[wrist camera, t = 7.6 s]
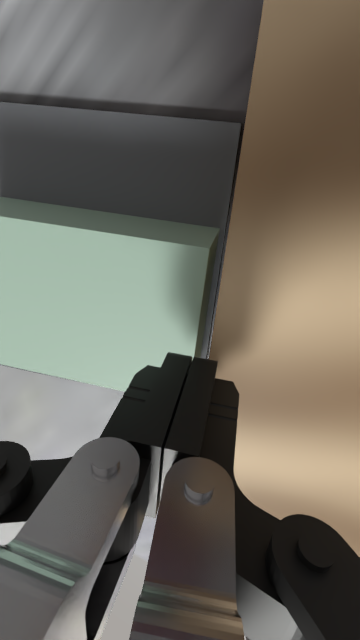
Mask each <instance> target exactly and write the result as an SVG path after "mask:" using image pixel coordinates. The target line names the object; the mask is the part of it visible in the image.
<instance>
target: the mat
mask: <svg viewBox="0 0 360 640" xmlns="http://www.w3.org/2000/svg"><path fill="white" fill-rule="evenodd" d="M240 131H241V123H234V122H223V121H212V120H200V119H189V118H178V117H166V116H155V115H144V114H132V113H121V112H110V111H99V110H87V109H76V108H65V107H53V106H42V105H31V104H19V103H8V102H0V197H6V198H13V199H20V200H27V201H34V202H40V203H47V204H54V205H61V206H68V207H75V208H82V209H89V210H96V211H103V212H110V213H116V214H123V215H130V216H137V217H144V218H151V219H158V220H165V221H172V222H179V223H186V224H192V225H199V226H206V227H213V228H220V231H219V237H218V244H217V250H216V257H215V264H214V270H213V277H212V283H211V290H210V297H209V303H208V310H207V316H206V323H205V330H204V336H203V343H202V349H201V356H200V358H204V359H206V358H207V352H208V345H209V338H210V332H211V325H212V318H213V312H214V305H215V298H216V291H217V285H218V278H219V271H220V265H221V258H222V251H223V245H224V238H225V231H226V225H227V218H228V211H229V205H230V198H231V191H232V185H233V178H234V171H235V164H236V158H237V151H238V144H239V138H240ZM0 365H2V364H0ZM3 366H6V365H3ZM7 367H11V366H7ZM12 368H15V367H12ZM17 369H20V368H17ZM21 370H24V369H21ZM26 371H29V370H26ZM31 372H33V371H31ZM36 373H38V372H36ZM40 374H42V373H40ZM45 375H47V374H45ZM50 376H52V375H50ZM54 377H56V376H54ZM59 378H61V377H59ZM64 379H65V378H64ZM69 380H70V379H69ZM73 381H74V380H73ZM78 382H79V381H78ZM87 384H88V383H87Z"/></svg>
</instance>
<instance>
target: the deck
mask: <svg viewBox="0 0 360 640" xmlns="http://www.w3.org/2000/svg"><path fill="white" fill-rule="evenodd" d="M209 360H215V361H218V365H217V371H216V377H215V378H218V379H223V380H228V381H233V382H234V384H235V386H236V388H237V390H238V392H239V407H238V419H237V432H236V444H235V457H234V476H235V480H236V483H237V485H238V487H239V488H240V490H241V491H242V493H243V494H244V495H245V496H246V497H247V499H248V500H250V501H251V502H252V503H253V504H254V505H256V506H257V507H259V508H260V509H262V510H264V511H266V512H267V513H269V514H271V515H272V516H274V517H276V518H278V519H279V520H282V519H283V518H285V517H287V516H289V515H294V514H304V515H309V516H312V517H315V518H318V519H320V520H321V521H323V522H325V523H326V524H328V525H330V526H331V527H332V528H333V529H334V530H336V531H337V532H338V533H339V534H340V535H341V536H342V538H343V539H344V540H345V541H346V542H347V543H348V545H349V546H350V547H351V548H352V549H353V550H354V552H355V553H356V554H357V555H358V556H359V557H360V0H264V3H263V9H262V16H261V22H260V29H259V35H258V42H257V48H256V55H255V61H254V68H253V74H252V81H251V88H250V94H249V101H248V107H247V114H246V120H245V127H244V133H243V140H242V146H241V153H240V159H239V166H238V172H237V179H236V185H235V192H234V198H233V205H232V211H231V218H230V224H229V231H228V237H227V244H226V250H225V257H224V263H223V270H222V276H221V283H220V289H219V296H218V302H217V309H216V315H215V322H214V328H213V335H212V341H211V348H210V355H209Z"/></svg>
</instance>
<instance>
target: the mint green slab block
mask: <svg viewBox="0 0 360 640" xmlns="http://www.w3.org/2000/svg"><path fill="white" fill-rule="evenodd" d="M219 231H220V228H213V227H206V226H199V225H192V224H186V223H179V222H172V221H165V220H158V219H151V218H144V217H137V216H130V215H123V214H116V213H110V212H103V211H96V210H89V209H82V208H75V207H68V206H61V205H54V204H47V203H40V202H34V201H27V200H20V199H13V198H6V197H0V364H2V365H6V366H11V367H15V368H20V369H24V370H29V371H33V372H38V373H42V374H47V375H52V376H56V377H61V378H65V379H70V380H74V381H79V382H83V383H88V384H92V385H97V386H101V387H106V388H110V389H115V390H119V391H124V392H125V391H126V390H127V388H128V387H129V384H130V382H131V381H132V379H133V377H134V375H135V374H136V373H137V372H139V371H140V370H141V369H143V368H144V367H146V366H147V365H150V366H155V367H161V366H162V364H163V361H164V359H165V357H166V355H167V353H168V352H172V353H177V354H182V355H188V356H192V361H193V358H194V357H199V358H200V356H201V349H202V343H203V336H204V330H205V323H206V316H207V310H208V303H209V297H210V290H211V283H212V277H213V270H214V264H215V257H216V250H217V244H218V237H219Z"/></svg>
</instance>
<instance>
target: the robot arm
mask: <svg viewBox="0 0 360 640" xmlns="http://www.w3.org/2000/svg"><path fill="white" fill-rule="evenodd" d="M217 365H218V361H215V360H209V359H204V358H199V357H194V358H193V361H192V356H188V355H182V354H177V353H172V352H168V353H167V355H166V357H165V359H164V361H163V364H162V366H161V367H155V366H150V365H147V366H146V367H144V368H143V369H141V370H140V371H139V372H137V373H136V374H135V375H134V377H133V379H132V381H131V382H130V384H129V387H128V388H127V390H126V391H125V393H124V395H123V398H122V399H121V400H120V402H119V404H118V406H117V407H116V409H115V411H114V413H113V415H112V416H111V418H110V420H109V422H108V424H107V425H106V427H105V429H104V431H103V432H102V434H101V436H100V438H98V439H95V440H92V441H90V442H88V443H86V444H85V445H83V446H82V447H81V448H80V449H79V450H78V451H77V452H76V453H75V455H74V456H73V457H69V458H64V459H52V460H34V461H31V460H30V455H29V453H28V451H27V450H26V448H25V447H23V446H22V445H20V444H18V443H15V442H9V441H0V640H100V639H101V636H102V633H103V631H104V628H105V626H106V623H107V621H108V618H109V615H110V613H111V610H112V608H113V605H114V603H115V600H116V597H117V595H118V592H119V590H120V587H121V585H122V582H123V580H124V577H125V574H126V572H127V569H128V567H129V564H130V562H131V559H132V556H133V554H134V551H135V548H136V541H137V539H138V536H139V533H140V530H141V526H142V523H143V520H144V517H145V516H148V517H152V518H156V514H157V511H158V515H157V520H156V525H155V530H154V535H153V540H152V545H151V550H150V555H149V560H148V565H147V570H146V576H145V580H144V584H143V589H142V593H141V595H140V596H139V599H138V603H137V606H136V611H135V615H134V619H133V624H132V629H131V634H130V638H129V640H244V635H245V636H246V639H247V640H360V557H359V556H358V555H357V554H356V553H355V552H354V550H353V549H352V548H351V547H350V546H349V545H348V543H347V542H346V541H345V540H344V539H343V538H342V536H341V535H340V534H339V533H338V532H337V531H336V530H334V529H333V528H332V527H331V526H330V525H328V524H326V523H325V522H323V521H321V520H320V519H318V518H315V517H312V516H309V515H304V514H294V515H289V516H287V517H285V518H283V519H282V520H279V519H278V518H276V517H274V516H272V515H271V514H269V513H267V512H266V511H264V510H262V509H260V508H259V507H257V506H256V505H254V504H253V503H252V502H251V501H250V500H248V499H247V497H246V496H245V495H244V494H243V493H242V491H241V490H240V488H239V487H238V485H237V483H236V480H235V476H234V457H235V444H236V432H237V419H238V407H239V392H238V390H237V388H236V386H235V384H234V382H233V381H228V380H223V379H218V378H215V377H216V371H217ZM158 507H159V510H158Z"/></svg>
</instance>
